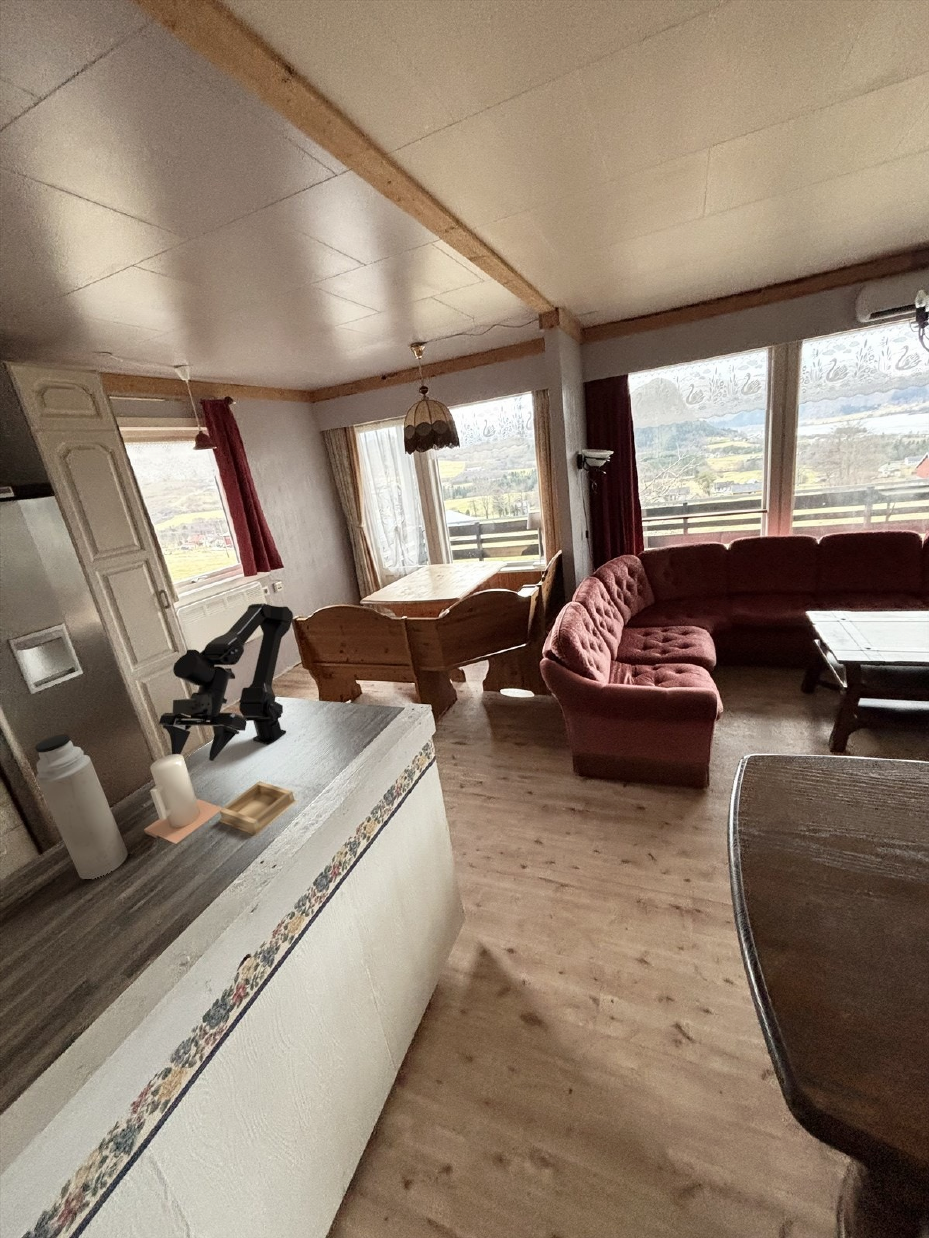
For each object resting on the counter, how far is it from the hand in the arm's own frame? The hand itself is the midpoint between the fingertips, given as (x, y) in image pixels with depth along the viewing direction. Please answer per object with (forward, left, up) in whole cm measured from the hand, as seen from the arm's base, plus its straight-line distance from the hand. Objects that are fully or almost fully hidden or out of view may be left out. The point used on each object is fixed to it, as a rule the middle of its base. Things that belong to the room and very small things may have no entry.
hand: (192, 760), depth 109 cm
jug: (+2, -7, -10) cm, 13 cm away
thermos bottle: (-3, -20, -11) cm, 23 cm away
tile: (+2, -6, -11) cm, 13 cm away
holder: (+16, +2, -11) cm, 20 cm away
